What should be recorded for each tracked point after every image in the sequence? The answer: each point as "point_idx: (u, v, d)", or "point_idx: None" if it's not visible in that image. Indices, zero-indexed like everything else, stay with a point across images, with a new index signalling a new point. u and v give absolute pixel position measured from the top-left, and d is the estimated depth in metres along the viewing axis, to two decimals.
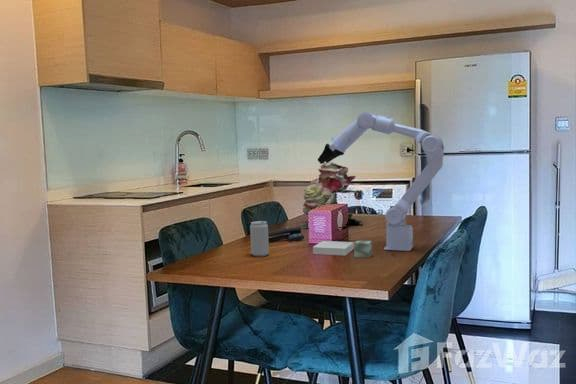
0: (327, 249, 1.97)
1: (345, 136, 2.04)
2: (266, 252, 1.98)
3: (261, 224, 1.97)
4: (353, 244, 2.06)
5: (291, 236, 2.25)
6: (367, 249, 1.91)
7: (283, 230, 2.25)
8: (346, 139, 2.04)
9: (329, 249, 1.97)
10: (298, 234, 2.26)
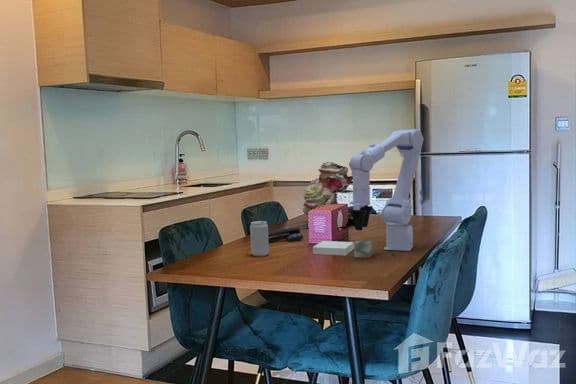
0: (327, 249, 1.97)
1: (358, 190, 1.90)
2: (266, 252, 1.98)
3: (261, 224, 1.97)
4: (353, 244, 2.06)
5: (290, 236, 2.24)
6: (367, 249, 1.91)
7: (282, 230, 2.24)
8: (361, 191, 1.89)
9: (329, 249, 1.97)
10: (297, 234, 2.26)
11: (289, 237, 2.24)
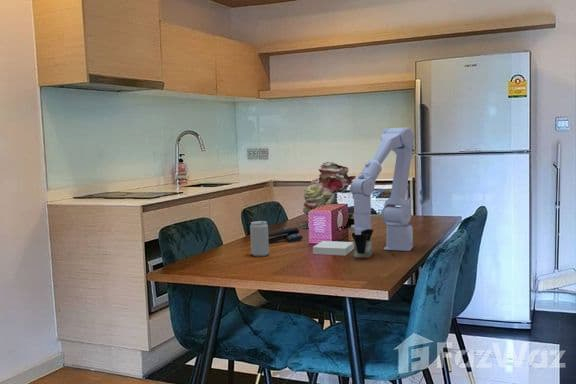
0: (327, 249, 1.97)
1: (359, 214, 1.90)
2: (266, 252, 1.98)
3: (261, 224, 1.97)
4: (353, 244, 2.06)
5: (290, 236, 2.24)
6: (367, 249, 1.91)
7: (282, 230, 2.24)
8: (362, 215, 1.90)
9: (329, 249, 1.97)
10: (296, 234, 2.25)
11: (288, 237, 2.24)
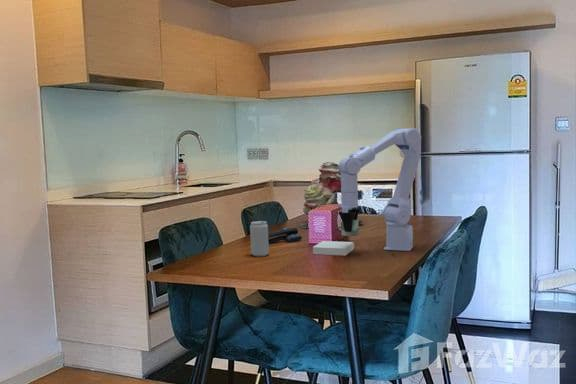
0: (327, 249, 1.97)
1: (346, 193, 1.93)
2: (266, 252, 1.98)
3: (261, 224, 1.97)
4: (353, 244, 2.06)
5: (289, 237, 2.23)
6: (354, 227, 1.94)
7: (281, 231, 2.23)
8: (349, 194, 1.93)
9: (329, 249, 1.97)
10: (296, 235, 2.25)
11: (288, 238, 2.23)
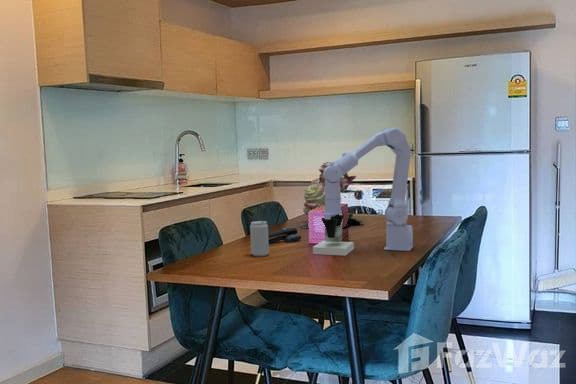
0: (327, 249, 1.97)
1: (329, 200, 1.99)
2: (266, 252, 1.98)
3: (261, 224, 1.97)
4: (353, 244, 2.06)
5: (289, 237, 2.23)
6: (337, 233, 1.99)
7: (281, 231, 2.23)
8: (332, 201, 1.98)
9: (329, 249, 1.97)
10: (295, 235, 2.25)
11: (288, 238, 2.23)
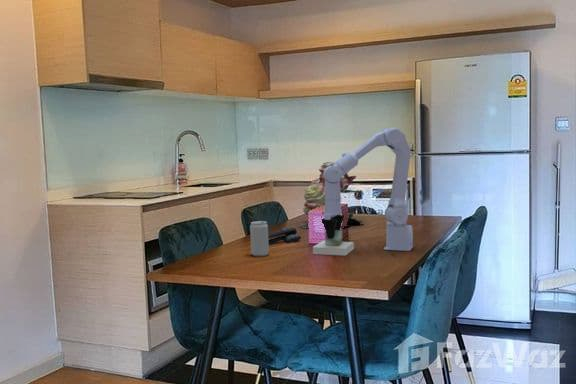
0: (327, 249, 1.97)
1: (329, 200, 1.99)
2: (266, 252, 1.98)
3: (261, 224, 1.97)
4: (353, 244, 2.06)
5: (289, 237, 2.23)
6: (337, 237, 1.99)
7: (281, 231, 2.22)
8: (332, 201, 1.98)
9: (329, 249, 1.97)
10: (295, 235, 2.24)
11: (288, 238, 2.22)
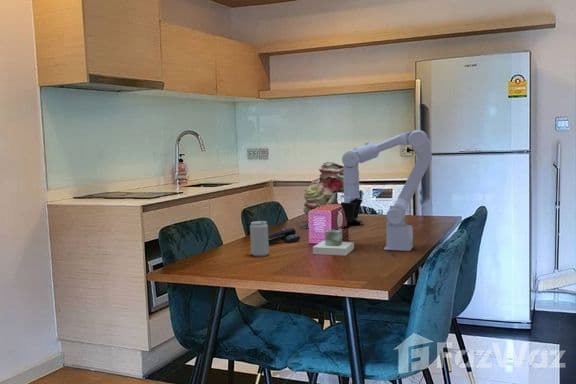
0: (327, 249, 1.97)
1: (348, 184, 2.04)
2: (266, 252, 1.98)
3: (261, 224, 1.97)
4: (353, 244, 2.06)
5: (289, 237, 2.22)
6: (337, 237, 1.99)
7: (280, 232, 2.21)
8: (351, 185, 2.04)
9: (329, 249, 1.97)
10: (294, 235, 2.24)
11: (287, 238, 2.22)
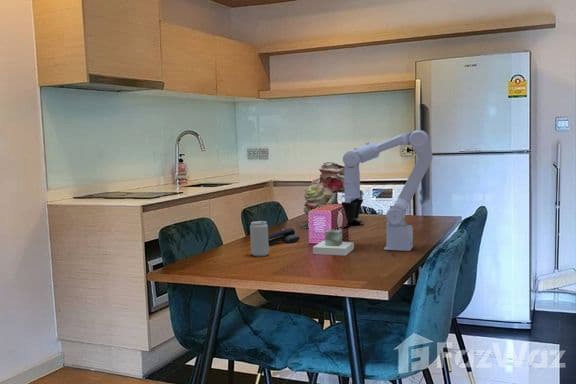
0: (327, 249, 1.97)
1: (349, 184, 2.05)
2: (266, 252, 1.98)
3: (261, 224, 1.97)
4: (353, 244, 2.06)
5: (288, 238, 2.22)
6: (337, 237, 1.99)
7: (280, 232, 2.21)
8: (352, 185, 2.04)
9: (329, 249, 1.97)
10: (294, 235, 2.24)
11: (287, 239, 2.21)
